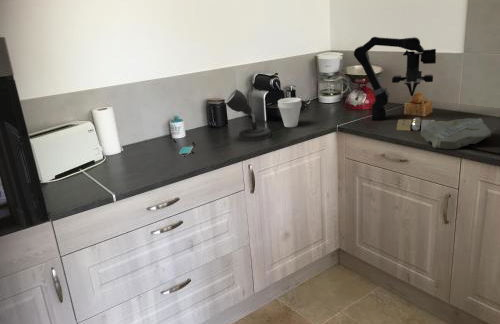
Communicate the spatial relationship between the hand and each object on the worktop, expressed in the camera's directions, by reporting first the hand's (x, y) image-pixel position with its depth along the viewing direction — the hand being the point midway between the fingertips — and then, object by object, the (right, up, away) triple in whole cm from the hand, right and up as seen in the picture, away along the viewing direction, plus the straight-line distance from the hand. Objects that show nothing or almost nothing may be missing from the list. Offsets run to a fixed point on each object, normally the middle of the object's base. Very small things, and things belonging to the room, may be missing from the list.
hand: (411, 96), depth 215 cm
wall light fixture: (-81, -21, -2) cm, 83 cm away
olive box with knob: (-5, -16, -10) cm, 20 cm away
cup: (-59, -14, +13) cm, 62 cm away
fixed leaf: (+1, -17, -12) cm, 21 cm away
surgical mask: (-110, -28, -14) cm, 114 cm away
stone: (+5, -25, -35) cm, 44 cm away
